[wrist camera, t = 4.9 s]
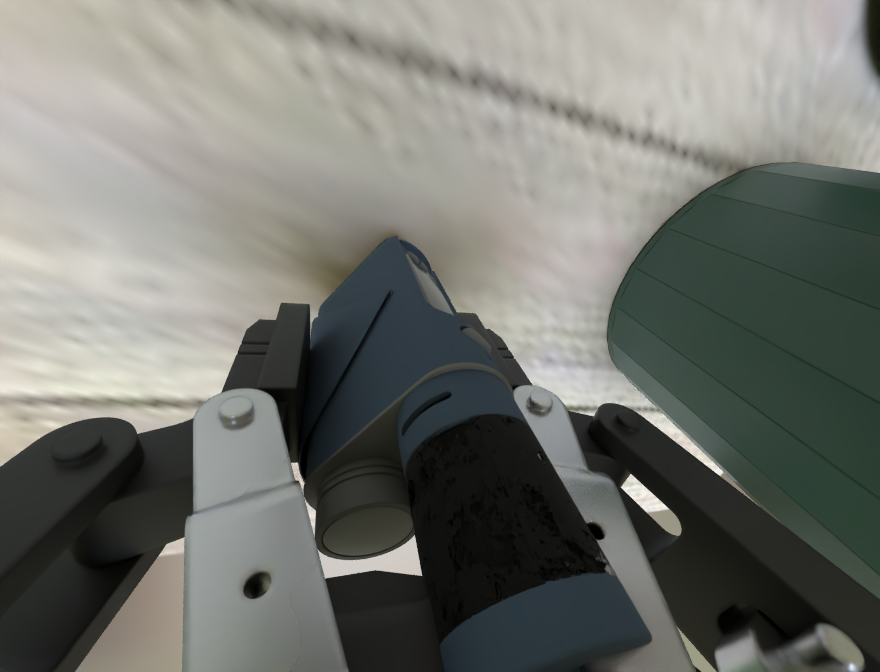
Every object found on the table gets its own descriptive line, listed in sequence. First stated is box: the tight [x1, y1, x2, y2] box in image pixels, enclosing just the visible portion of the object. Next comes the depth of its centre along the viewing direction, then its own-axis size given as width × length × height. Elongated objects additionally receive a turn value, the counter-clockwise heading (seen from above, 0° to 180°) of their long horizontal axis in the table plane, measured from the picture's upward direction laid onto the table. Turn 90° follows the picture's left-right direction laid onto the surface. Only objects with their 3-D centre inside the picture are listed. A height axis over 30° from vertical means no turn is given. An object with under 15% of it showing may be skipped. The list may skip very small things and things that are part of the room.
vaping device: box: [298, 236, 652, 672], centre depth 8 cm, size 3×5×12 cm, turn 131°
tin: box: [608, 162, 880, 599], centre depth 14 cm, size 13×13×14 cm
